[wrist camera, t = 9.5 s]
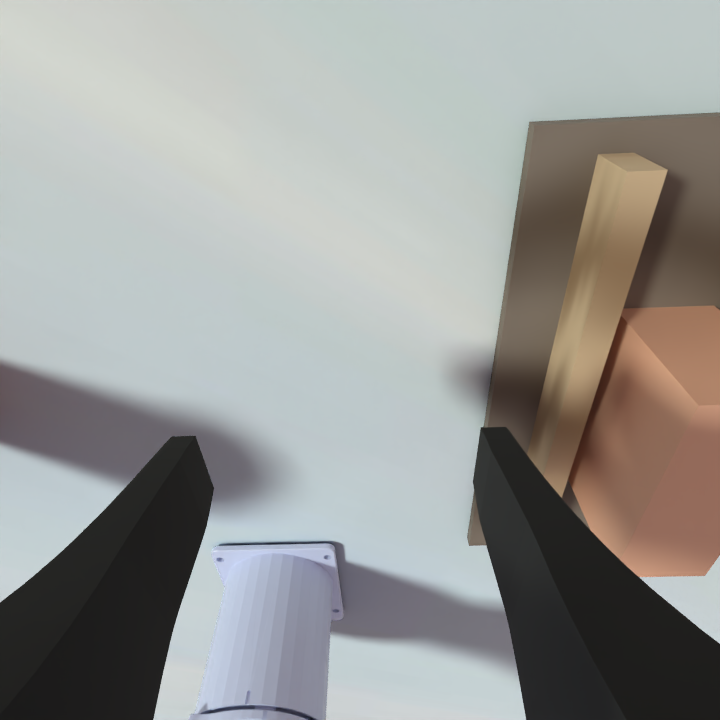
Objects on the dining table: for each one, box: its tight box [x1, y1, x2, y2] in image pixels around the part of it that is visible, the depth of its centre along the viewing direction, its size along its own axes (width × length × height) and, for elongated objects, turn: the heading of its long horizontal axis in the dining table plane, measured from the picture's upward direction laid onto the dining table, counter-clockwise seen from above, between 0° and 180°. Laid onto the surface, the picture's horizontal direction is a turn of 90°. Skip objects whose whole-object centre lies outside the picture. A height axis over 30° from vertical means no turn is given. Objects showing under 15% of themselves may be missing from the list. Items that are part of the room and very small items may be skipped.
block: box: [568, 306, 720, 577], centre depth 20 cm, size 10×4×6 cm, turn 2°
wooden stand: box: [467, 113, 720, 546], centre depth 22 cm, size 24×13×3 cm, turn 3°
